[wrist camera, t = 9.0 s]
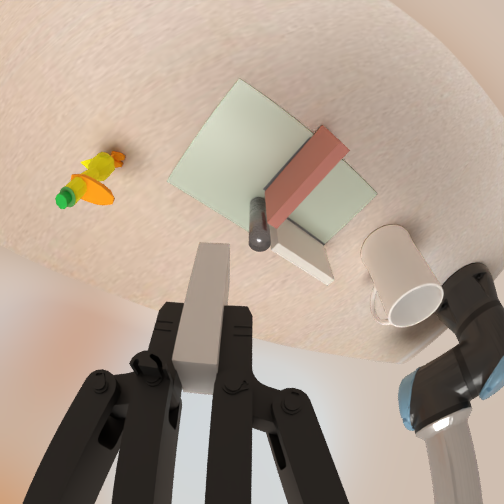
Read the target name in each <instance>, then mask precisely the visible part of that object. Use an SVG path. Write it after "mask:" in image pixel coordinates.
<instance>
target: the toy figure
mask: <svg viewBox="0 0 504 504" xmlns="http://www.w3.org/2000/svg"><path fill="white" fill-rule="evenodd" d="M124 159H125V155H124V154H122V153H120V152H115V151H112V153H111V156H110V155H109V154H108V153H105V152H100V153H98V154H97V156H95V157H94V158H93V159H89V160H86V161H82V162H81V163H82V164H83V165H84V166H85V167H86V168H87V169H88V170H86V171H84V172H83V173H81V174H72V176H71V181H70V182H69V183H68V184H67V185H66V186H65V187H63V188H62V189H61V190H60V193H59V194H57V196H56V198H55V199H56V204H57V205H58V206H59V208H60V209H65V208H66V207H72V206H74V205H75V204H76V203H77V202H78V201H79V200H80V199H83V200H85V201H87V202H90V203H93V204H97V205H110V204H113V201H114V199H115V198H114V196H113V194H112V192H111V190H110V189H108V188H107V187H106V186H105V185H104V184H102V183H100V182H99V181H104V180H105V179H106V178H108V177H109V176H110V174H111V173H112V172H113V171H114V170H115V168H117V167H122V165H123V163H122V162H121V161H120V160H124Z"/></svg>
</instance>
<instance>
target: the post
mask: <svg viewBox="0 0 504 504" xmlns="http://www.w3.org/2000/svg"><path fill="white" fill-rule="evenodd" d="M270 245H271V237H270V226H269V224H268V223H267V214H266V202H265V199H264V198H262V197H255V198H253V199H252V200H251V201H250V212H249V246H250V247H251V249H253V250H255V251H258V252H261V251H265V250H267V249H268V248H269V247H270Z"/></svg>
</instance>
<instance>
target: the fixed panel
mask: <svg viewBox="0 0 504 504" xmlns="http://www.w3.org/2000/svg"><path fill="white" fill-rule="evenodd" d="M269 226H270V237H271V250H272V251H273V252H275V253H276V254H278V255H280V256H281V257H283V258H284V259H286V260H287V261H289V262H291V263H292V264H294V265H295V266H297V267H299V268H300V269H302V270H303V271H305V272H307V273H308V274H310V275H311V276H313V277H314V278H316V279H318V280H319V281H321V282H322V283H324V284H325V285H327V286H328V285H329V284H330V283H332V282H333V281H334V276H333V273H332V270H331V267H330V263H329V260H328V257H327V254H326V251H325V248H324V245H323V244H321V243H320V242H318V241H317V240H316V239H314V238H313V237H312V236H310V235H309V234H307V233H306V232H305V231H303V230H302V229H300V228H299V227H298V226H296V225H295V224H293V223H292V222H291V221H289V220H288V219H286V220H285V221H284V222H283V223H282V224H281V225H280V226H279V227H278V228H277V229H276V228H274V227H273V226H271V225H270V224H269Z"/></svg>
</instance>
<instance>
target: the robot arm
mask: <svg viewBox="0 0 504 504" xmlns="http://www.w3.org/2000/svg"><path fill="white" fill-rule="evenodd" d="M229 284H230V244H223V243H202V242H200V243H199V246H198V250H197V254H196V258H195V261H194V265H193V269H192V273H191V277H190V281H189V285H188V289H187V294H186V298H185V302H184V303H175V302H166V303H165V304H164V305H163V306H162V308H161V309H160V310H159V313H158V316H157V320H156V323H155V327H154V331H153V334H152V338H151V341H150V345H149V348H148V351H142V352H140V353H138V354H136V355H135V356H134V357H133V358H132V360H131V361H130V363H129V364H130V366H131V367H132V369H133V370H134V372H131V373H126V374H119V375H113V374H111V373H110V372H109V371H106V370H103V369H102V370H96V371H94V372H92V373H91V374H90V375H89V376H88V377H87V378H86V380H85V382H84V383H83V385H82V387H81V388H80V390H79V392H78V394H77V396H76V397H75V399H74V401H73V402H72V404H71V406H70V407H69V409H68V411H67V413H66V415H65V417H64V418H63V420H62V422H61V424H60V426H59V427H58V429H57V431H56V433H55V435H54V437H53V439H52V441H51V443H50V445H49V447H48V449H47V451H46V453H45V455H44V457H43V459H42V461H41V463H40V465H39V467H38V469H37V472H36V474H35V476H34V478H33V480H32V483H31V485H30V487H29V489H28V492H27V494H26V497H25V499H24V502H23V504H94V503H95V501H96V499H97V497H98V495H99V492H100V490H101V488H102V486H103V483H104V481H105V479H106V477H107V474H108V472H109V470H110V468H111V466H112V464H113V462H114V459H115V457H116V455H117V453H118V451H119V456H118V462H117V468H116V475H115V481H114V488H113V496H112V504H171V501H172V489H173V478H174V468H175V458H176V449H177V441H178V432H179V424H180V416H181V409H182V400H181V391H182V389H183V391H184V392H190V393H198V394H209V395H213V400H212V412H211V423H210V436H209V449H208V462H207V477H206V492H205V504H251V476H252V475H251V474H252V473H251V472H252V428H254V429H257V430H260V431H263V432H266V434H267V437H268V441H269V444H270V447H271V451H272V454H273V457H274V461H275V464H276V467H277V470H278V474H279V477H280V480H281V483H282V486H283V490H284V493H285V496H286V499H287V502H288V504H349V502H348V499H347V496H346V494H345V491H344V488H343V486H342V483H341V481H340V478H339V475H338V473H337V470H336V467H335V465H334V462H333V459H332V457H331V454H330V452H329V449H328V446H327V443H326V441H325V438H324V435H323V433H322V430H321V428H320V425H319V422H318V420H317V417H316V414H315V412H314V409H313V406H312V404H311V401H310V399H309V398H308V396H307V394H305V393H304V392H303V391H301V390H299V389H295V388H286V389H284V390H281V391H280V390H277V389H274V388H271V387H268V386H266V385H263V384H262V383H260V382H259V381H258V380H257V379H256V378H255V376H254V374H253V371H252V314H251V312H250V310H249V308H248V307H247V306H227V305H228V295H229ZM442 289H443V293H444V295H443V299H442V302H441V304H440V305H439V307H438V308H437V309H436V310H435V312H436V314H437V316H438V318H439V319H440V320H441V321H442V322H443V323H444V324H445V325H446V326H447V327H448V328H449V329H450V330H452V331H453V333H455V335H456V337H457V339H458V341H459V344H458V345H456V346H455V347H454V348H452V349H450V350H449V351H447V352H446V353H444V354H443V355H441V356H439V357H438V358H436V359H434V360H433V361H431V362H429V363H427V364H426V365H424V366H422V367H419V368H417V369H416V371H414V372H412V373H411V374H409V375H407V376H406V377H405V378H404V379H403V380H402V382H401V384H400V387H399V393H398V400H399V409H400V414H401V418H403V423H404V426H405V427H406V428H407V429H408V430H412V431H414V430H415V434H416V436H417V437H419V438H421V439H423V440H424V441H425V442H426V448H427V453H428V458H429V464H430V470H431V476H432V484H433V492H434V500H435V504H483V503H482V493H481V485H480V478H479V472H478V466H477V460H476V455H475V451H474V446H473V442H472V438H471V433H470V429H469V426H468V417H469V416H470V413H471V411H472V407H471V404H470V401H471V400H472V399H474V398H475V397H477V396H479V397H480V398H481V399H482V400H485V399H487V398H489V397H490V396H491V395H493V394H495V393H496V392H497V391H498V390H500V389H501V388H502V387H503V386H504V308H503V306H502V305H501V303H500V301H499V300H498V297H497V293H496V289H495V286H494V282H493V279H492V275H491V273H490V272H489V270H488V269H487V268H486V266H485V265H484V264H481V263H474V264H470V265H468V266H466V267H464V268H462V269H460V270H459V271H457V272H456V273H455V274H454V275H452V276H451V277H450V278H449V279H448V280H447V281H446V282H445V283H444V285H443V286H442ZM119 449H120V450H119Z"/></svg>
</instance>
